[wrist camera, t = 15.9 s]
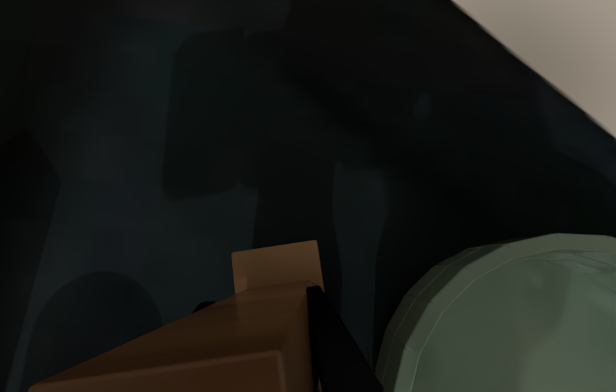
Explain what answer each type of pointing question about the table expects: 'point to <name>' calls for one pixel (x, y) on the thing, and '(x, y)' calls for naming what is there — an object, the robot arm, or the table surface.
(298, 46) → the table surface
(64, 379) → the brown stepped block
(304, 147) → the table surface
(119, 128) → the table surface
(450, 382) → the bowl
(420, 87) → the table surface
